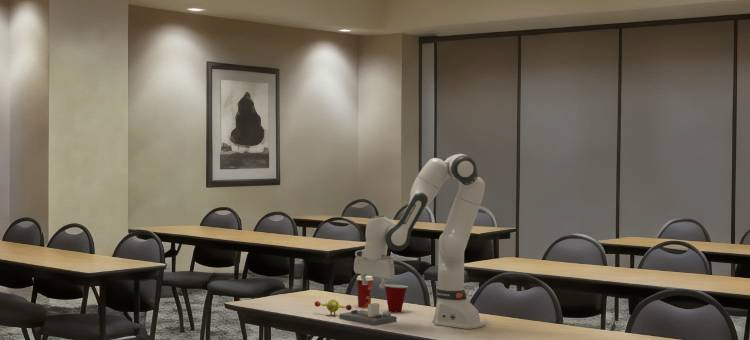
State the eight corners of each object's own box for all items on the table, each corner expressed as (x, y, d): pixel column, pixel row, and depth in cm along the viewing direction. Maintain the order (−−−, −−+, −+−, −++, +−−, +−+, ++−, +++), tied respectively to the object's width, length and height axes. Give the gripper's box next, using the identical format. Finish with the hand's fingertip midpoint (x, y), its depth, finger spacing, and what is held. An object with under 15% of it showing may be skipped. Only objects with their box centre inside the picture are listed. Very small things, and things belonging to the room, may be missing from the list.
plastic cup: (411, 311, 427) (412, 284, 426) (399, 314, 418) (399, 287, 417) (391, 308, 433) (392, 282, 432) (378, 311, 424) (379, 284, 423)
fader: (379, 315, 400) (379, 303, 400) (371, 316, 396) (371, 304, 396) (375, 314, 402) (375, 302, 401) (367, 316, 398) (368, 304, 398)
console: (396, 321, 401) (396, 312, 401) (374, 325, 391) (374, 316, 390) (361, 314, 414) (361, 306, 414) (339, 318, 404) (339, 310, 404)
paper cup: (372, 308, 431) (373, 277, 431) (355, 307, 431) (356, 277, 431) (372, 305, 439) (373, 275, 438) (356, 305, 439) (357, 274, 439)
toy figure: (311, 314, 412) (311, 298, 412) (317, 312, 417) (317, 297, 417) (347, 318, 404) (348, 302, 404) (353, 316, 409) (354, 301, 409)
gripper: (398, 256, 394) (396, 289, 394) (362, 250, 407) (360, 282, 408) (388, 257, 389) (386, 290, 389) (352, 251, 403) (350, 283, 403)
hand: (373, 286), depth 399 cm, fingers open, 8 cm apart
